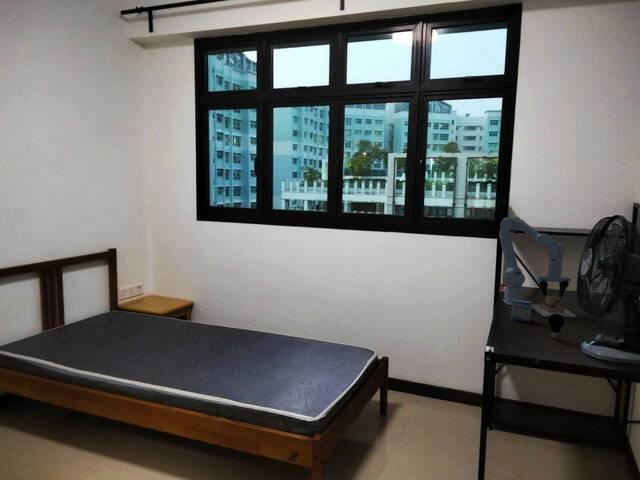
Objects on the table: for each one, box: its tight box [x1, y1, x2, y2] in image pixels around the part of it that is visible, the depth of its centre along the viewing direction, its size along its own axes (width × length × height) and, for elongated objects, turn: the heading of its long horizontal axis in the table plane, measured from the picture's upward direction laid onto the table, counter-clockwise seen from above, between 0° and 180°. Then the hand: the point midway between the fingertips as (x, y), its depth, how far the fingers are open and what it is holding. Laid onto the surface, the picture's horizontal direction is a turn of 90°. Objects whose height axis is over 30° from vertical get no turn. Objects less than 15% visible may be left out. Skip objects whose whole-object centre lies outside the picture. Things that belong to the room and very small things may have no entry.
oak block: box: [544, 295, 561, 308], centre depth 225 cm, size 4×6×6 cm, turn 178°
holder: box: [531, 302, 577, 318], centre depth 225 cm, size 18×14×3 cm
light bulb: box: [547, 314, 566, 339], centre depth 186 cm, size 6×6×10 cm
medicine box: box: [510, 299, 533, 323], centre depth 211 cm, size 8×4×9 cm, turn 62°
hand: (552, 296), depth 224 cm, fingers open, 7 cm apart
